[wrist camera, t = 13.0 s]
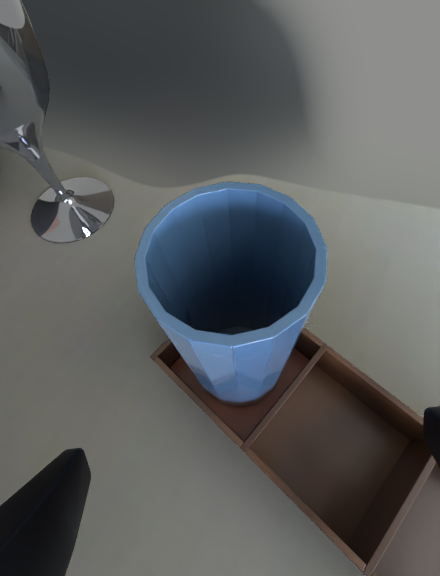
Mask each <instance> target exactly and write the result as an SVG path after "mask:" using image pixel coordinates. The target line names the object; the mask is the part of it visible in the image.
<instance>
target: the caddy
mask: <svg viewBox="0 0 440 576" xmlns="http://www.w3.org/2000/svg"><path fill="white" fill-rule="evenodd" d="M150 357H151V358H152V359H153V360H154V361H155V362H156V363H157V364H158V365H159V366H160V367H161V368H162V369H163V370H164V371H165V373H166V374H167V375H168V376H169V377H170V378H171V379H172V380H173V381H174V382H175V383H176V384H177V385H178V386H179V387H180V388H181V389H182V390H183V391H184V392H185V393H186V394H187V395H188V396H189V397H190V398H191V399H192V400H193V401H194V402H195V403H196V404H197V405H198V406H199V407H200V408H201V409H202V410H203V411H204V412H205V413H206V414H207V415H208V416H209V417H210V418H211V419H212V420H213V421H214V422H215V423H216V424H217V425H218V426H219V427H220V428H221V429H222V430H223V431H224V432H225V433H226V434H227V435H228V436H229V437H230V438H231V439H232V440H233V441H234V442H235V443H236V444H237V445H238V446H239V447H240V448H241V449H242V450H243V451H244V452H245V453H246V454H247V455H248V456H249V457H250V458H251V459H252V460H253V461H254V462H255V463H256V465H257V466H258V467H259V468H260V469H261V470H262V471H263V472H264V473H265V474H266V475H267V476H268V477H269V478H270V479H271V480H272V481H273V482H274V483H275V484H276V485H277V486H278V487H279V488H280V489H281V490H282V491H283V492H284V493H285V494H286V495H287V496H288V497H289V498H290V499H291V500H292V501H293V502H294V503H295V504H296V505H297V506H298V507H299V508H300V509H301V510H302V511H303V512H304V513H305V514H306V515H307V516H308V517H309V518H310V519H311V520H312V521H313V522H314V523H315V524H316V525H317V526H318V527H319V528H320V529H321V530H322V531H323V532H324V533H325V534H326V535H327V536H328V537H329V538H330V539H331V540H332V541H333V542H334V543H335V544H336V545H337V546H338V547H339V548H340V549H341V550H342V551H343V552H344V553H345V554H346V556H347V557H348V558H349V559H350V560H351V561H352V562H353V563H354V564H355V565H356V566H357V567H358V568H359V569H360V570H361V571H362V572H363V573H364V574H365V575H366V576H440V468H439V466H438V465H437V463H436V461H435V459H434V458H433V456H432V454H431V452H430V451H429V449H428V447H427V446H426V444H425V442H424V439H423V433H422V432H423V420H424V419H423V418H422V417H421V416H419V415H418V414H417V413H415V412H414V411H413V410H411V409H410V408H409V407H407V406H406V405H405V404H403V403H402V402H401V401H400V400H398V399H397V398H396V397H394V396H393V395H392V394H390V393H389V392H388V391H386V390H385V389H384V388H382V387H381V386H380V385H379V384H377V383H376V382H375V381H373V380H372V379H371V378H369V377H368V376H367V375H365V374H364V373H363V372H361V371H360V370H359V369H357V368H356V367H355V366H354V365H352V364H351V363H350V362H348V361H347V360H346V359H344V358H343V357H342V356H340V355H339V354H338V353H336V352H335V351H334V350H333V349H331V348H330V347H328V346H327V345H326V344H325V343H323V342H322V341H321V340H319V339H318V338H317V337H315V336H314V335H313V334H312V333H310V332H309V331H308V330H306V329H305V328H303V330H302V332H301V334H300V336H299V338H298V340H297V342H296V345H295V347H294V349H293V351H292V353H291V355H290V357H289V359H288V361H287V363H286V365H285V367H284V369H283V371H282V373H281V375H280V377H279V379H278V381H277V383H276V385H275V387H274V388H273V390H272V392H271V393H270V394H269V395H268V396H267V397H265V398H264V399H263V400H261V401H260V402H258V403H256V404H254V405H250V406H246V407H232V406H228V405H225V404H222V403H220V402H219V401H217V400H215V399H214V398H213V397H212V396H211V395H209V394H208V393H207V392H206V390H205V389H204V387H203V386H202V384H201V383H200V382H199V380H198V379H197V377H196V376H195V374H194V373H193V372H192V370H191V369H190V367H189V366H188V364H187V363H186V362H185V360H184V359H183V357H182V356H181V354H180V353H179V352H178V350H177V349H176V347H175V346H174V344H173V343H172V341H171V340H170V339H169V338H168V339H167V340H166V341H165V342H164V343H163V344H162V345H161V346H160V347H159V348H158V349H157V350H156V351H155V352H154V353H153V354H152V355H151V356H150Z"/></svg>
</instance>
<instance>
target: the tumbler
mask: <svg viewBox="0 0 440 576" xmlns="http://www.w3.org/2000/svg"><path fill="white" fill-rule="evenodd" d="M134 260H135V269H136V279H137V289H138V292H139V293H140V295H141V297H142V298H143V300H144V301H145V303H146V304H147V306H148V308H149V309H150V311H151V312H152V314H153V315H154V317H155V319H156V320H157V321H158V323H159V324H160V326H161V327H162V329H163V330H164V331H165V333H166V334H167V336H168V337H169V339H170V340H171V341H172V343H173V344H174V346H175V347H176V349H177V350H178V352H179V353H180V354H181V356H182V357H183V359H184V360H185V362H186V363H187V364H188V366H189V367H190V369H191V370H192V372H193V373H194V374H195V376H196V377H197V379H198V380H199V382H200V383H201V384H202V386H203V387H204V389H205V390H206V392H207V393H208V394H209V395H211V396H212V397H213V398H214V399H215V400H217V401H219V402H220V403H222V404H225V405H228V406H232V407H246V406H250V405H254V404H256V403H258V402H260V401H261V400H263V399H264V398H265V397H267V396H268V395H269V394H270V393H271V392H272V390H273V388H274V387H275V385H276V383H277V381H278V379H279V377H280V375H281V373H282V371H283V369H284V367H285V365H286V363H287V361H288V359H289V357H290V355H291V353H292V351H293V349H294V347H295V345H296V342H297V340H298V338H299V336H300V334H301V332H302V330H303V328H304V326H305V324H306V322H307V320H308V318H309V316H310V314H311V312H312V310H313V308H314V306H315V304H316V302H317V299H318V297H319V295H320V293H321V291H322V289H323V287H324V285H325V282H326V272H327V246H326V244H325V242H324V240H323V237H322V235H321V233H320V231H319V228H318V226H317V224H316V222H315V220H314V218H313V217H312V216H311V215H310V214H309V213H307V212H306V211H305V210H304V209H303V208H302V207H301V206H300V205H299V204H298V203H297V202H295V201H294V200H293V199H292V198H291V197H289V196H287V195H285V194H282V193H280V192H277V191H275V190H273V189H270V188H268V187H265V186H263V185H259V184H251V183H239V182H222V183H218V184H213V185H208V186H203V187H199V188H195V189H193V190H191V191H189V192H187V193H185V194H184V195H182V196H180V197H178V198H176V199H175V200H173V201H171V202H169V203H168V204H167V205H165V206H164V207H163V208H162V209H161V211H160V212H159V213H158V214H157V215H156V216H155V217H154V218H153V220H152V221H151V222H150V223H149V224H148V225H147V226H146V228H145V229H144V232H143V235H142V238H141V241H140V243H139V246H138V249H137V252H136V255H135V259H134Z"/></svg>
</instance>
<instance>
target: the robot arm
mask: <svg viewBox="0 0 440 576" xmlns="http://www.w3.org/2000/svg"><path fill="white" fill-rule="evenodd" d="M422 433H423V439H424V442H425V444H426V446H427V447H428V449H429V451H430V452H431V454H432V456H433V458H434V459H435V461H436V463H437V465H438V466H439V468H440V406H437V407H429V408H426V410H425V411H424V420H423V432H422ZM90 480H91V472H90V468H89V465H88V462H87V459H86V456H85V453H84V450H83V449H81V448H75V449H68V450H65V451H64V452H62V453H61V454H60V455H59V456H58V457H57V458H55V459H54V460H53V461H52V462H51V463H50V464H48V465H47V466H46V467H45V468H44V469H43V470H42V471H40V472H39V473H38V474H37V475H36V476H35V477H33V478H32V479H31V480H30V481H29V482H28V483H26V484H25V485H24V486H23V487H22V488H21V489H19V490H18V491H17V492H16V493H15V494H14V495H13V496H11V497H10V498H9V499H8V500H7V501H6V502H4V503H3V504H2V505H1V506H0V576H65V574H66V571H67V568H68V565H69V562H70V559H71V556H72V552H73V549H74V546H75V542H76V538H77V534H78V530H79V526H80V522H81V518H82V514H83V510H84V506H85V501H86V497H87V493H88V489H89V485H90Z"/></svg>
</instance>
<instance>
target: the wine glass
mask: <svg viewBox="0 0 440 576" xmlns="http://www.w3.org/2000/svg"><path fill="white" fill-rule="evenodd" d="M49 89H50V88H49V80H48V74H47V69H46V66H45V63H44V59H43V56H42V53H41V49H40V47H39V44H38V41H37V39H36V36H35V34H34V30H33V28H32V25H31V22H30V20H29V17H28V15H27V13H26V10H25V8H24V6H23V4H22V2H21V0H0V148H1V149H5V150H8V151H10V152H13V153H15V154H17V155H19V156H21V157H22V158H24V159H25V160H26V161H27V162H29V163H30V164H31V165H32V166H33V167H34V168H35V169H36V170H37V171H38V172H39V173H40V175H41V176H42V177H43V178H44V179H45V180H46V181H47V182H48V184H49V185H50V186H51V188H50V189H48V190H47V191H46V192H45V193H43V194H42V196H41V197H40V198H39V199H38V200H37V202H36V203H35V205H34V208H33V210H32V214H31V223H32V227H33V229H34V231H35V232H36V233H37V234H38V235H39V236H40V237H41V238H43V239H45V240H47V241H50V242H55V243H67V242H73V241H77V240H80V239H83V238H85V237H87V236H89V235H91V234H93V233H94V232H95V231H97V230H98V229H99V228H100V227H101V226H102V225H103V224H104V223H105V222H106V221H107V220H108V218H109V216H110V215H111V213H112V210H113V206H114V197H113V194H112V191H111V190H110V188H109V187H108V186H107V185H106V184H105V183H103V182H101V181H100V180H97V179H94V178H88V177H79V178H72V179H68V180H65V181H62V182H60V181H59V180H58V178H57V176H56V175H55V173H54V171H53V169H52V167H51V166H50V164H49V162H48V160H47V158H46V155H45V153H44V151H43V147H42V140H41V138H42V128H43V123H44V119H45V115H46V110H47V106H48V102H49V91H50V90H49Z"/></svg>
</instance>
